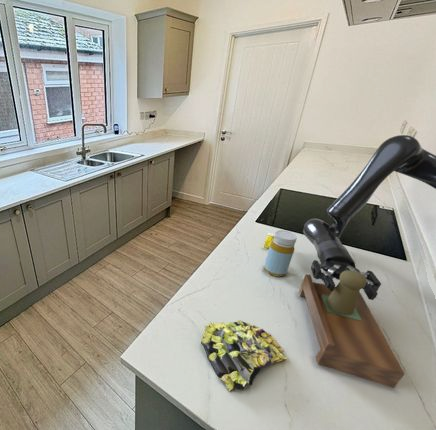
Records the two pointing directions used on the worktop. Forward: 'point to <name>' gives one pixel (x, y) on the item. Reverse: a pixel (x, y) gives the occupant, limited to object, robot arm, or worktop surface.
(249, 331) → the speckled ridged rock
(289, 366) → the worktop surface
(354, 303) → the olive knobbed peg
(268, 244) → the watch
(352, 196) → the robot arm
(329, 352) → the shelf
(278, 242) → the bottle
